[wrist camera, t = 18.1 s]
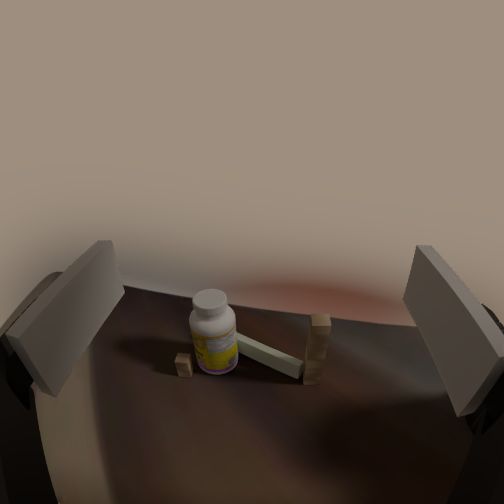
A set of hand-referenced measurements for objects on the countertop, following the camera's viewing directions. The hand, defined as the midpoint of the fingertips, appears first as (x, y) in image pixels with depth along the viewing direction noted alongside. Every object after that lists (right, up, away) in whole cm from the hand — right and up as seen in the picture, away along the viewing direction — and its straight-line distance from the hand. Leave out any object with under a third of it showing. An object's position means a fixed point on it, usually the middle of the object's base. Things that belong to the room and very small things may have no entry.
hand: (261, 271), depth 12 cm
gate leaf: (0, -16, +34) cm, 38 cm away
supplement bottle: (-6, -17, +34) cm, 38 cm away
